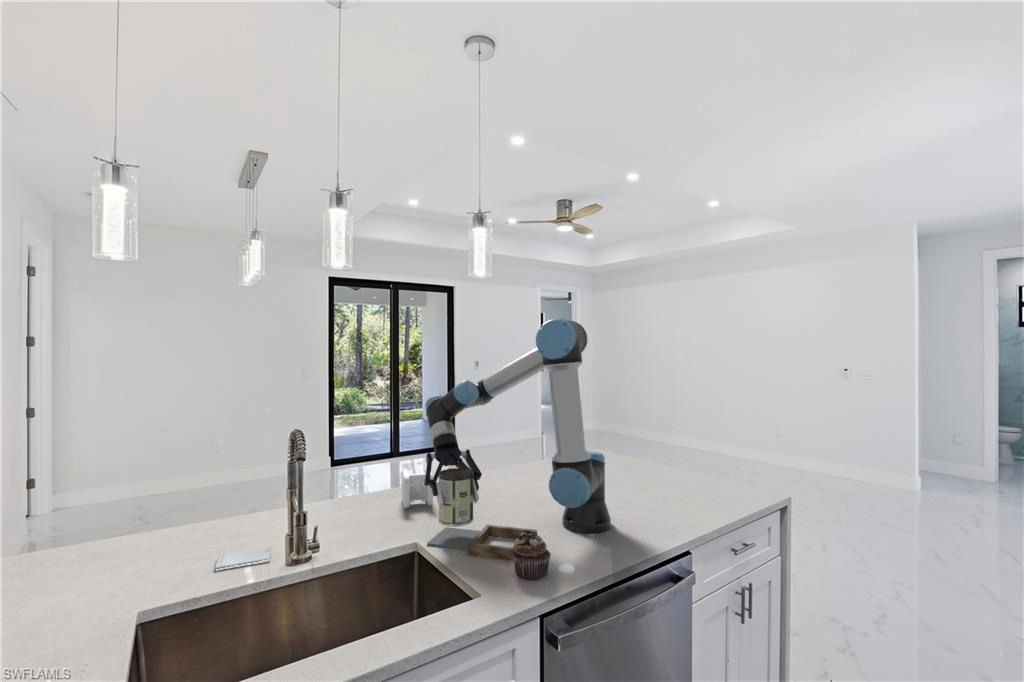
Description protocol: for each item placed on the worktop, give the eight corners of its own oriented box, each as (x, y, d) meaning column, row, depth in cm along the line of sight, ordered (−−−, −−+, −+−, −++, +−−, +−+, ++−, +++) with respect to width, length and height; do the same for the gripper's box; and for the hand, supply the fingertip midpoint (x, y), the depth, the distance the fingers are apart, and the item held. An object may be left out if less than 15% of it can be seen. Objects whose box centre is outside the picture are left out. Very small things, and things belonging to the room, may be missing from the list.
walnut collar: (536, 540, 141) (536, 529, 141) (523, 562, 126) (523, 550, 126) (487, 534, 145) (486, 524, 145) (468, 555, 130) (468, 544, 130)
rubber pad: (485, 533, 146) (485, 531, 146) (469, 550, 134) (469, 548, 134) (445, 529, 150) (445, 527, 150) (427, 545, 137) (427, 543, 137)
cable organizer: (433, 508, 169) (433, 475, 169) (402, 511, 166) (402, 477, 167) (428, 496, 184) (428, 465, 184) (400, 498, 181) (400, 467, 181)
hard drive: (270, 546, 134) (218, 554, 129) (270, 558, 127) (214, 567, 121) (270, 552, 134) (218, 560, 129) (270, 564, 127) (214, 573, 121)
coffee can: (453, 512, 149) (453, 466, 149) (480, 518, 143) (480, 471, 144) (430, 522, 140) (431, 473, 141) (458, 529, 135) (458, 478, 135)
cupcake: (548, 583, 114) (548, 541, 115) (508, 580, 116) (508, 538, 116) (552, 566, 124) (552, 526, 124) (515, 563, 126) (515, 524, 126)
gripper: (474, 443, 161) (492, 504, 146) (406, 448, 152) (418, 514, 137) (480, 429, 156) (498, 491, 141) (410, 434, 147) (422, 501, 132)
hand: (459, 503), depth 139 cm, fingers closed on coffee can, 10 cm apart
